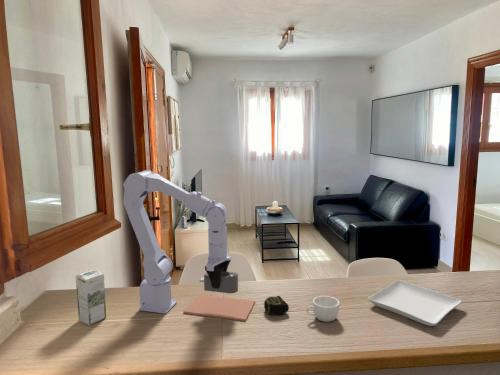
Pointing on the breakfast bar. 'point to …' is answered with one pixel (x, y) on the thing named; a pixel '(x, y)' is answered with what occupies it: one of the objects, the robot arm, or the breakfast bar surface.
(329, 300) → the teacup
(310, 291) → the breakfast bar surface
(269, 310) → the tape measure
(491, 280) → the breakfast bar surface
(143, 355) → the breakfast bar surface
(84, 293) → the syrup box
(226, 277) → the grey round-top block
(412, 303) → the salad plate
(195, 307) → the rubber mat
